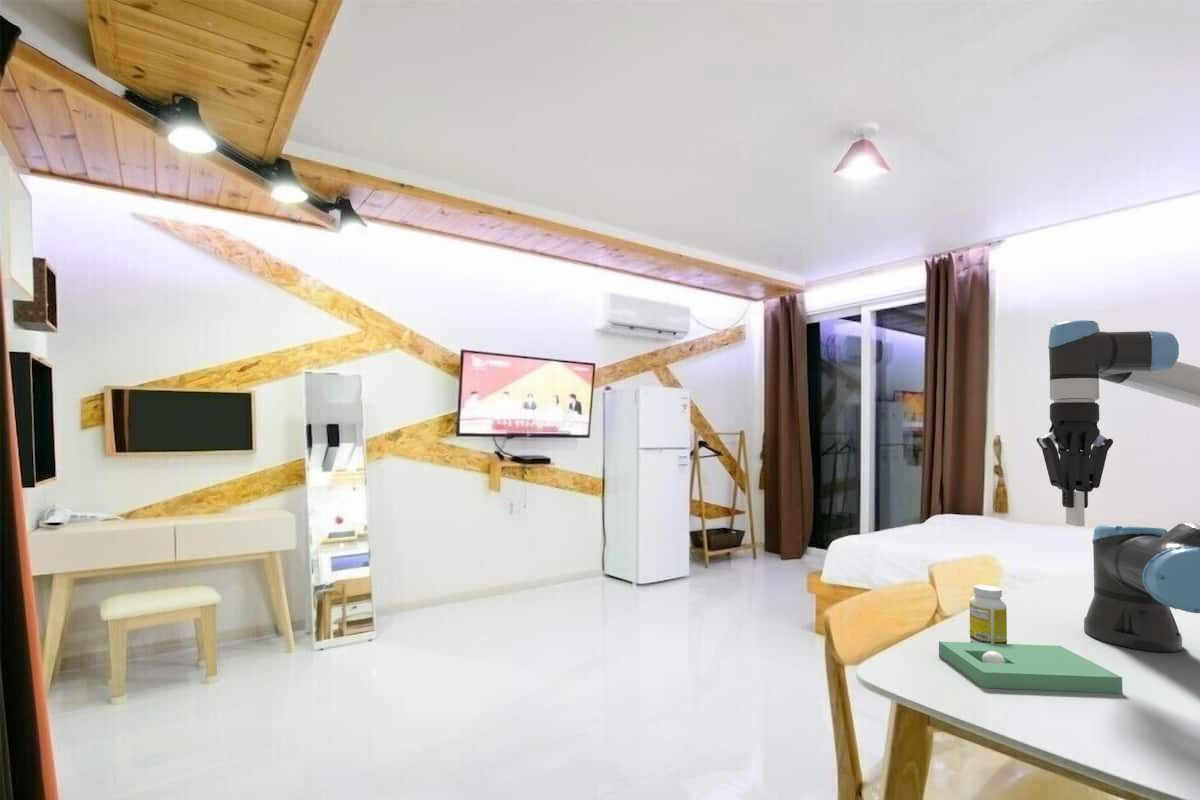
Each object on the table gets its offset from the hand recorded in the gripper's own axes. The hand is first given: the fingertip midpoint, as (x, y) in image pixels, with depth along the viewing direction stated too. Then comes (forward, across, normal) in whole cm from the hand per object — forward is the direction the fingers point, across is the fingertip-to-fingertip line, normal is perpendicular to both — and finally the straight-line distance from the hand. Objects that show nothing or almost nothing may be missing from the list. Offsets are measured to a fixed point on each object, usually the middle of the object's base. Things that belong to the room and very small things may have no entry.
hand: (1075, 524), depth 116 cm
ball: (+23, +21, +10) cm, 33 cm away
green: (+24, +16, +10) cm, 31 cm away
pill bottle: (+25, +14, -4) cm, 29 cm away
